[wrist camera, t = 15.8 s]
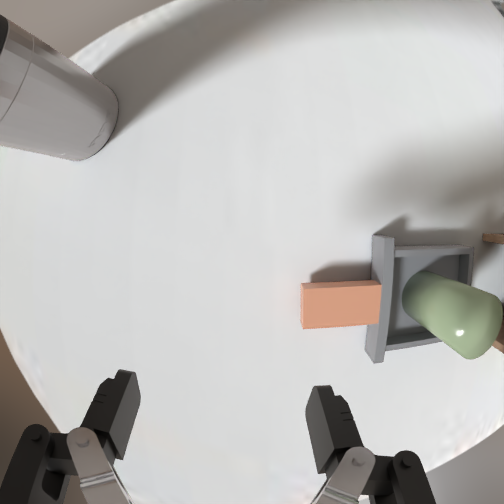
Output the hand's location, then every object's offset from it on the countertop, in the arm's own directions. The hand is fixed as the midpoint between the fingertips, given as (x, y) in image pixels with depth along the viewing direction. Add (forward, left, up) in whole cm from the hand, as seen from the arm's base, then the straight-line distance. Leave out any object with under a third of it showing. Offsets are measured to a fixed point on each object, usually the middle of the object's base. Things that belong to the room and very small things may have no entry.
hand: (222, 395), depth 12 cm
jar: (+15, +9, -14) cm, 23 cm away
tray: (+12, +7, -15) cm, 21 cm away
